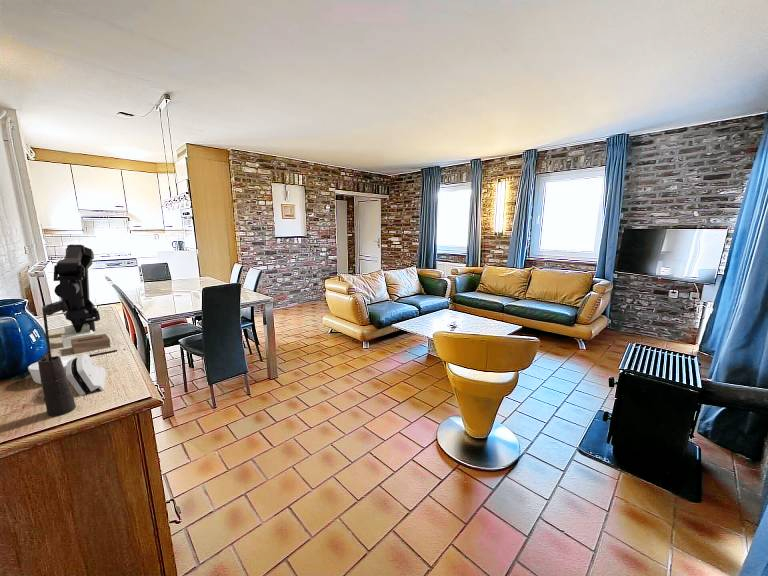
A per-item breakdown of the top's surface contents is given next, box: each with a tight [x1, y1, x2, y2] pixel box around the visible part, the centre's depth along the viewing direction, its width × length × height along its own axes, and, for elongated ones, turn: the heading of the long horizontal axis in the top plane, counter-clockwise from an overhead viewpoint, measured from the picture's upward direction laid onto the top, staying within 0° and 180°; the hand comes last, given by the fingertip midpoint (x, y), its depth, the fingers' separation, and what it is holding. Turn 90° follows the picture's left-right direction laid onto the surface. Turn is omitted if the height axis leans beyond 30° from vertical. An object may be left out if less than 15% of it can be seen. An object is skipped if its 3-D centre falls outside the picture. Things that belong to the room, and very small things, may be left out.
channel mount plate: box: [71, 333, 118, 358], centre depth 119 cm, size 14×13×5 cm
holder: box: [60, 330, 96, 348], centre depth 124 cm, size 7×9×5 cm
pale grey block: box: [63, 323, 90, 337], centre depth 124 cm, size 4×7×7 cm, turn 139°
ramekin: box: [27, 355, 79, 385], centre depth 97 cm, size 11×11×5 cm
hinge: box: [66, 353, 107, 397], centre depth 93 cm, size 17×5×10 cm, turn 40°
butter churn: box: [37, 307, 77, 417], centre depth 78 cm, size 9×10×28 cm
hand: (77, 331), depth 123 cm, fingers closed on pale grey block, 4 cm apart
